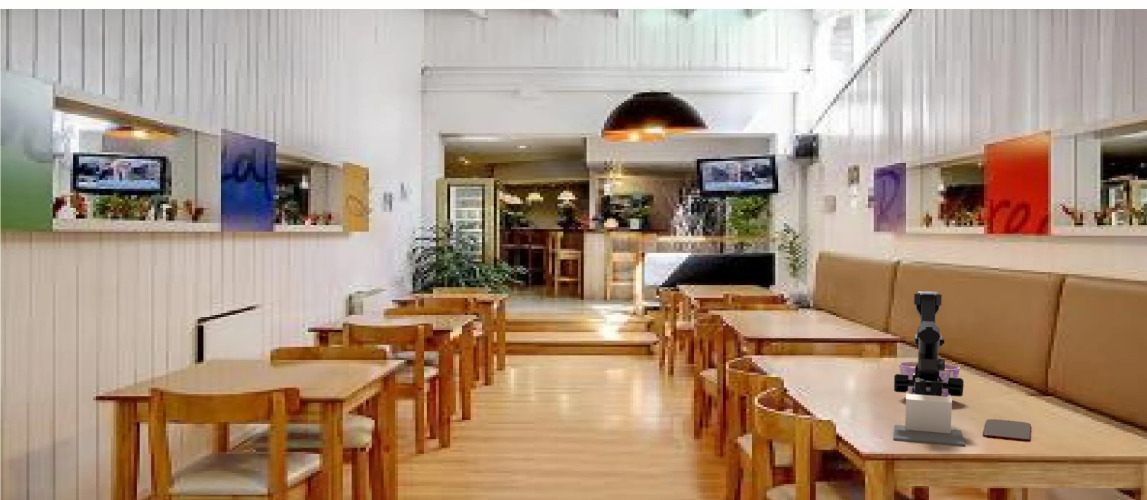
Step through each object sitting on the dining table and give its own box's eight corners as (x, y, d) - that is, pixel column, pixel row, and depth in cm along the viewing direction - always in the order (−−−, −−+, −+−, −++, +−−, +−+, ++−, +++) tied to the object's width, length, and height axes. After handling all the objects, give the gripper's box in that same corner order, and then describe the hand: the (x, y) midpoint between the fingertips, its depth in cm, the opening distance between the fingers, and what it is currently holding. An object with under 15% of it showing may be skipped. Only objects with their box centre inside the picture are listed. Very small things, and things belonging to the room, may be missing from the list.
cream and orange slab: (905, 423, 262) (906, 393, 258) (950, 427, 258) (951, 396, 254) (905, 429, 259) (905, 399, 255) (950, 433, 255) (951, 402, 251)
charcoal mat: (894, 426, 265) (894, 424, 265) (961, 432, 259) (961, 430, 259) (893, 440, 248) (893, 437, 248) (964, 446, 241) (964, 444, 241)
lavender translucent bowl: (969, 404, 305) (970, 370, 304) (909, 403, 305) (910, 369, 305) (945, 394, 325) (946, 362, 324) (889, 393, 325) (890, 361, 325)
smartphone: (981, 434, 254) (986, 418, 276) (981, 439, 254) (986, 423, 276) (1030, 439, 248) (1031, 422, 270) (1030, 445, 248) (1031, 427, 270)
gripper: (895, 346, 266) (893, 389, 256) (964, 350, 260) (965, 394, 249) (894, 369, 274) (893, 412, 263) (961, 374, 267) (963, 417, 257)
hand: (928, 408), depth 258 cm, fingers closed
